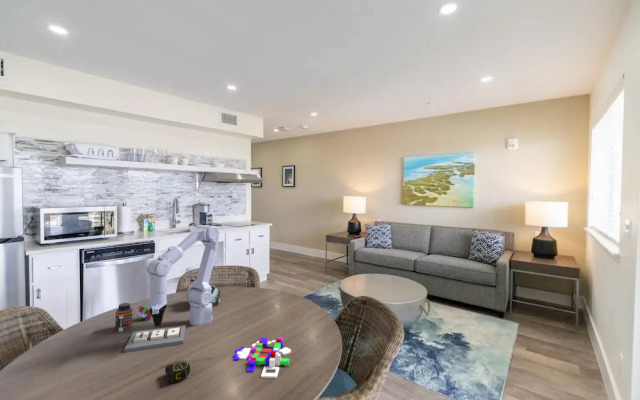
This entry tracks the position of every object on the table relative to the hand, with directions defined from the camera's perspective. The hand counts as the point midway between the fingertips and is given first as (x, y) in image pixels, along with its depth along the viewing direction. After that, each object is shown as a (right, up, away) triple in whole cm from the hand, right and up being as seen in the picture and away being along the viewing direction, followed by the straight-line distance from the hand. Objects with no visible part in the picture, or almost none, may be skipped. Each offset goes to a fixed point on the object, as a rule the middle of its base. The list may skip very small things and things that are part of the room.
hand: (158, 325), depth 115 cm
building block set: (+42, -8, -8) cm, 44 cm away
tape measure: (+18, -8, -22) cm, 29 cm away
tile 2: (+5, -7, +2) cm, 9 cm away
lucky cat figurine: (+2, -6, +41) cm, 42 cm away
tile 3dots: (-5, -7, -2) cm, 9 cm away
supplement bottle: (-19, -6, +9) cm, 22 cm away
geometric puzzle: (-17, -6, +20) cm, 27 cm away
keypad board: (0, -7, 0) cm, 7 cm away
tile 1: (0, -7, 0) cm, 7 cm away
